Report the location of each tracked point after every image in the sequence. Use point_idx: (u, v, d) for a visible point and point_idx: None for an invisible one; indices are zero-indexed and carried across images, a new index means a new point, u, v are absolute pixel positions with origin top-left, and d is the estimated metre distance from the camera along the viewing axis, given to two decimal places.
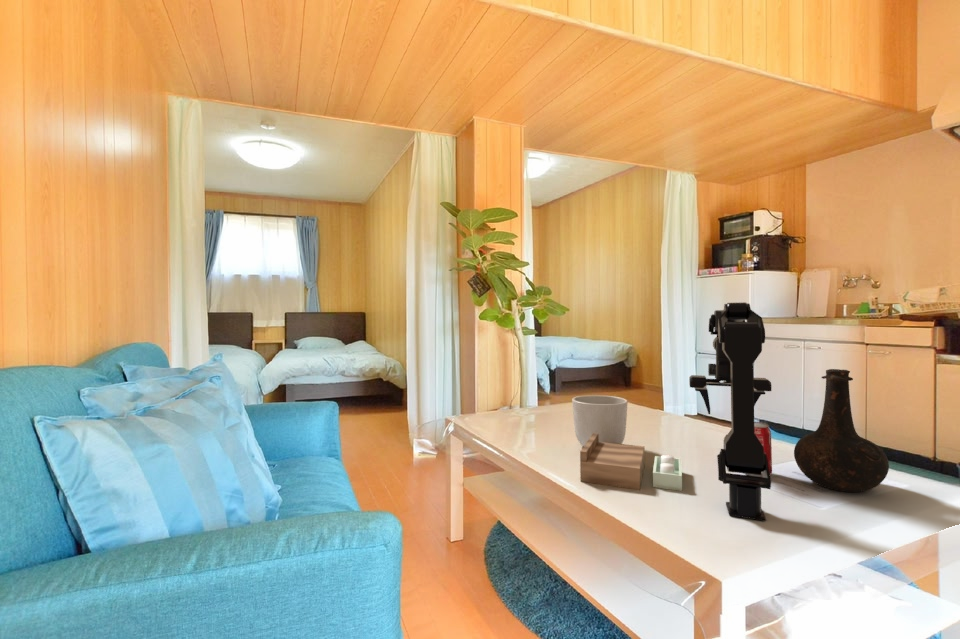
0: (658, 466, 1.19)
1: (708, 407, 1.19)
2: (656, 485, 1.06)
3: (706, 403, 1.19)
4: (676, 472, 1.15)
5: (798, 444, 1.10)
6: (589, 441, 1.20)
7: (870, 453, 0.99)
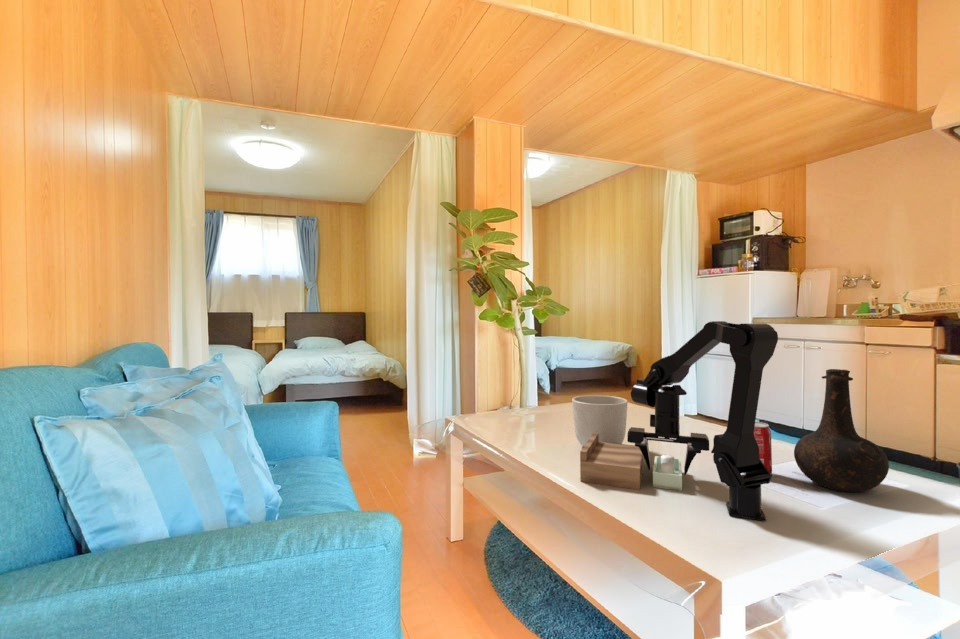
0: (658, 466, 1.19)
1: (648, 463, 1.12)
2: (656, 485, 1.06)
3: (646, 459, 1.12)
4: (676, 472, 1.15)
5: (798, 444, 1.10)
6: (589, 441, 1.20)
7: (870, 453, 0.99)
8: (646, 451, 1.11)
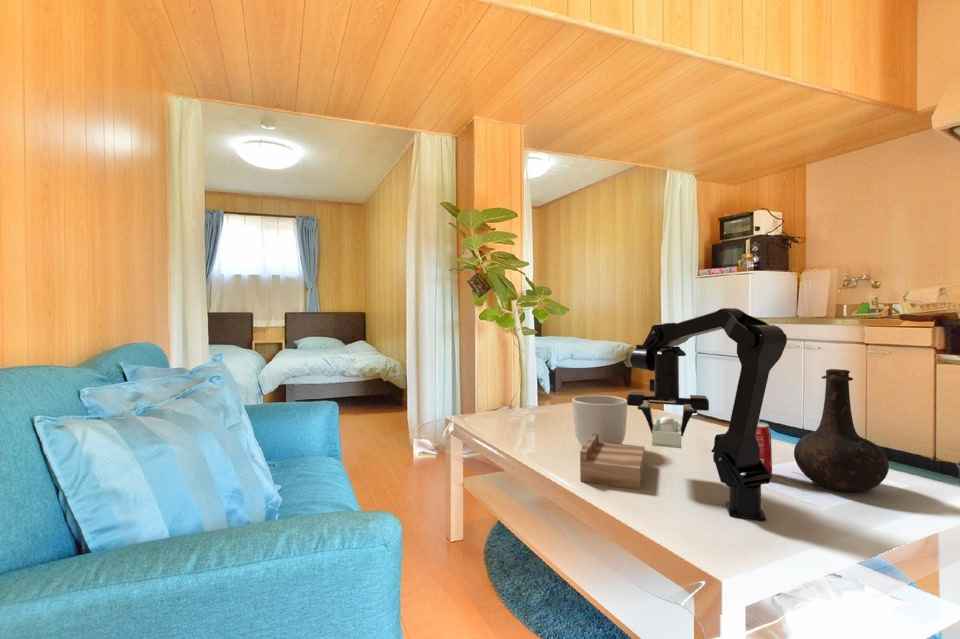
0: (657, 429, 1.19)
1: (651, 426, 1.12)
2: (655, 444, 1.06)
3: (649, 422, 1.12)
4: None
5: (798, 444, 1.10)
6: (589, 441, 1.20)
7: (870, 453, 0.99)
8: (649, 414, 1.11)
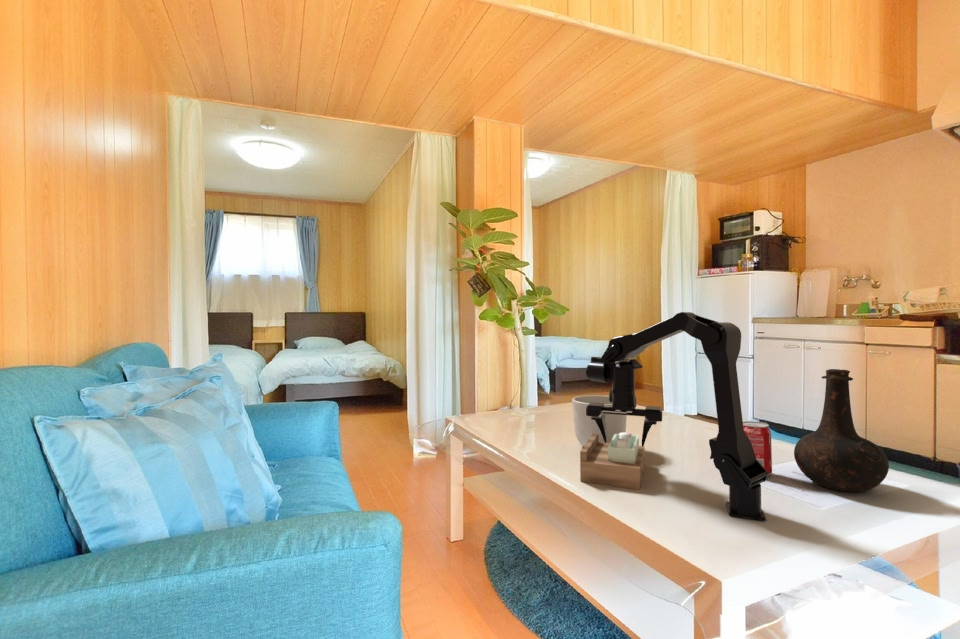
0: None
1: (604, 436, 1.17)
2: (611, 459, 1.11)
3: (602, 432, 1.17)
4: None
5: (798, 444, 1.10)
6: (589, 441, 1.20)
7: (870, 453, 0.99)
8: (602, 424, 1.16)
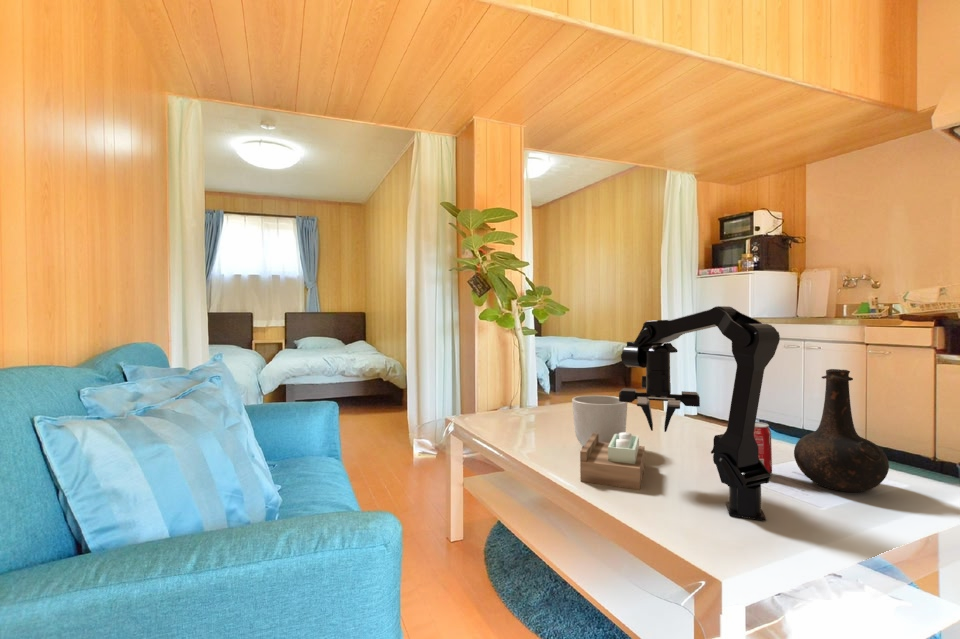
0: None
1: (650, 423, 1.12)
2: (611, 459, 1.11)
3: (648, 419, 1.12)
4: None
5: (798, 444, 1.10)
6: (589, 441, 1.20)
7: (870, 453, 0.99)
8: (648, 410, 1.11)
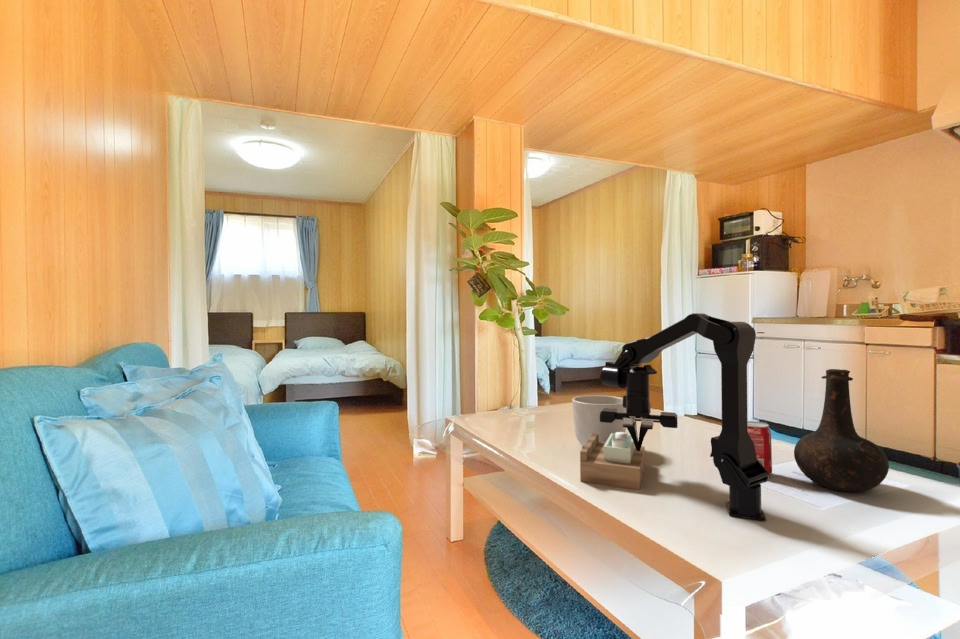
0: None
1: (636, 444, 1.14)
2: (606, 458, 1.11)
3: (634, 440, 1.14)
4: None
5: (798, 444, 1.10)
6: (589, 441, 1.20)
7: (870, 453, 0.99)
8: (634, 431, 1.13)
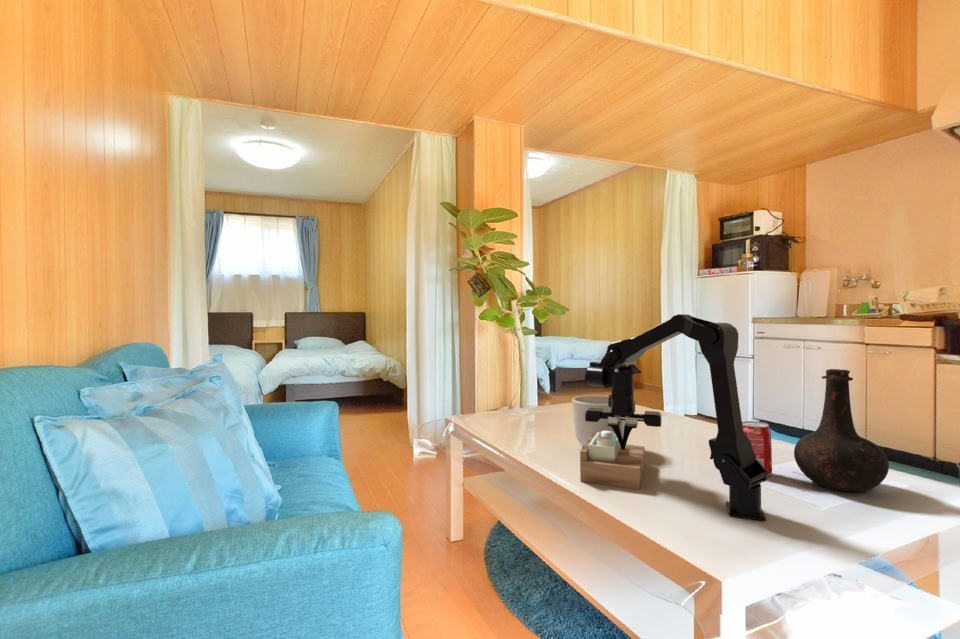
0: None
1: (621, 443, 1.15)
2: (591, 457, 1.13)
3: (618, 439, 1.15)
4: None
5: (798, 444, 1.10)
6: (589, 441, 1.20)
7: (870, 453, 0.99)
8: (618, 430, 1.14)
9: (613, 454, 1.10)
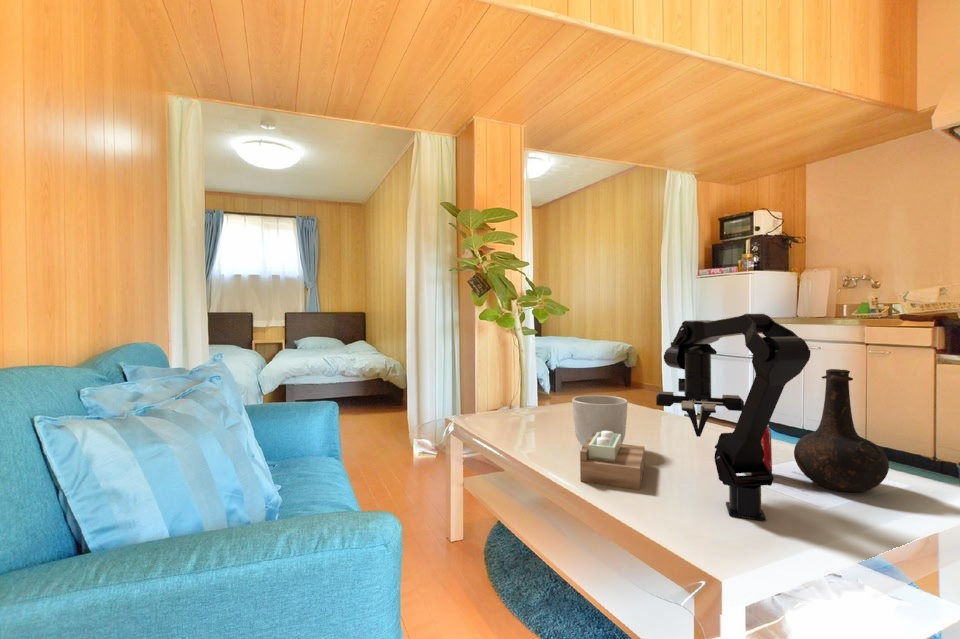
0: None
1: (696, 429, 1.06)
2: (591, 457, 1.13)
3: (694, 424, 1.06)
4: None
5: (798, 444, 1.10)
6: (589, 441, 1.20)
7: (870, 453, 0.99)
8: (694, 415, 1.05)
9: (613, 454, 1.10)
